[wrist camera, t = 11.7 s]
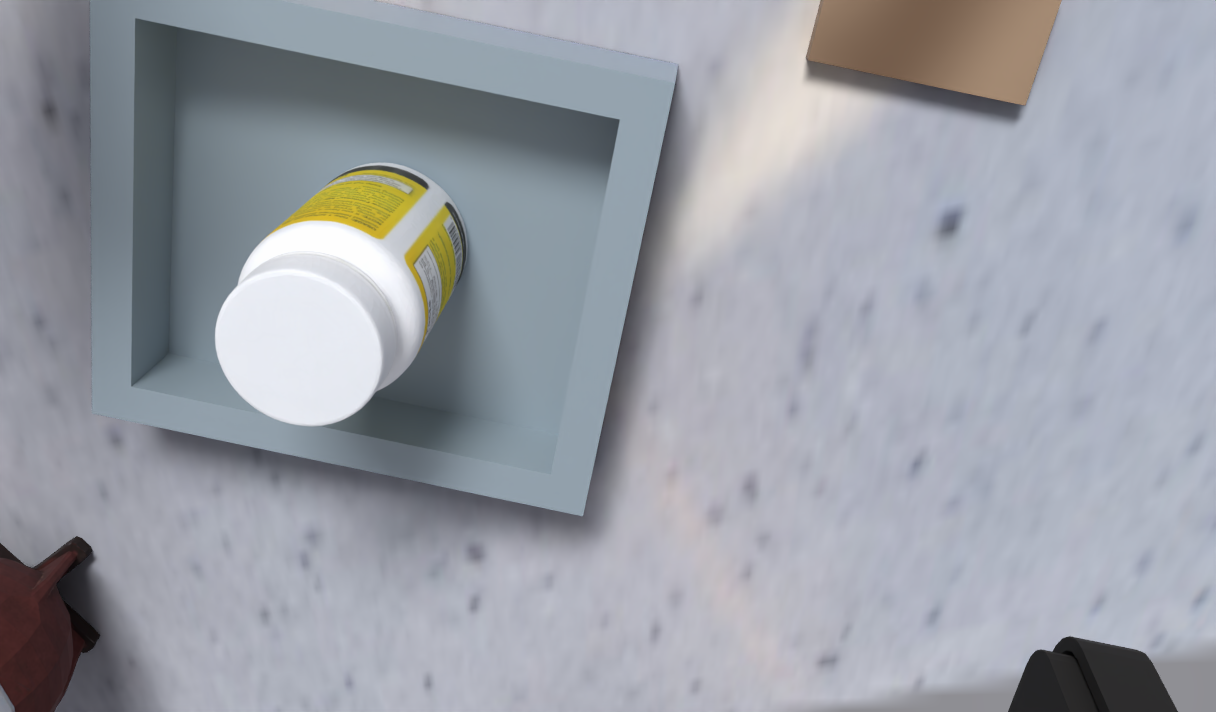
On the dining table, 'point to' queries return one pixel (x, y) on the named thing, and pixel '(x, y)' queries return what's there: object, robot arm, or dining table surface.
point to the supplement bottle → (341, 295)
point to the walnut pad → (939, 42)
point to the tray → (336, 142)
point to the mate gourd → (39, 630)
